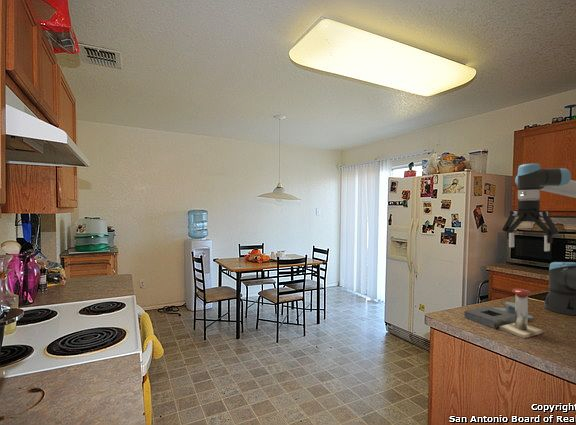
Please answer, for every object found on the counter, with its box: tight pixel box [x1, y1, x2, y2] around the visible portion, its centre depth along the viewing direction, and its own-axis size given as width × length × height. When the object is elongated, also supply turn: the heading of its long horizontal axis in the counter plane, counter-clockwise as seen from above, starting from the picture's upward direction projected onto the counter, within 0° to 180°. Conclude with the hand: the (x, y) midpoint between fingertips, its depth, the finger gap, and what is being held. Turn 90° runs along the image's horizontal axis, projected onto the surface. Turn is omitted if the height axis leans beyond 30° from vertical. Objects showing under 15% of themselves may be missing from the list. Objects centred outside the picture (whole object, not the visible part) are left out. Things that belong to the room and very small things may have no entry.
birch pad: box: [498, 323, 544, 339], centre depth 122 cm, size 12×9×1 cm
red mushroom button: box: [511, 288, 532, 330], centre depth 122 cm, size 6×6×15 cm
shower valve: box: [495, 301, 534, 320], centre depth 141 cm, size 12×6×15 cm
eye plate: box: [464, 306, 515, 329], centre depth 134 cm, size 16×13×3 cm
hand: (528, 249), depth 134 cm, fingers open, 13 cm apart
